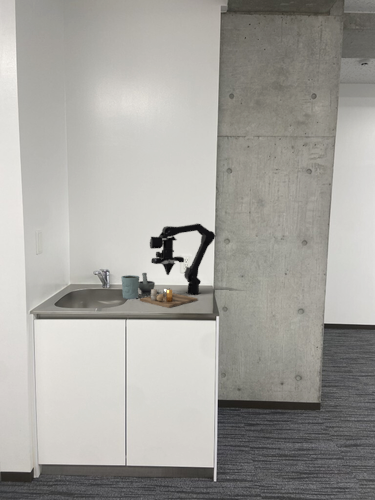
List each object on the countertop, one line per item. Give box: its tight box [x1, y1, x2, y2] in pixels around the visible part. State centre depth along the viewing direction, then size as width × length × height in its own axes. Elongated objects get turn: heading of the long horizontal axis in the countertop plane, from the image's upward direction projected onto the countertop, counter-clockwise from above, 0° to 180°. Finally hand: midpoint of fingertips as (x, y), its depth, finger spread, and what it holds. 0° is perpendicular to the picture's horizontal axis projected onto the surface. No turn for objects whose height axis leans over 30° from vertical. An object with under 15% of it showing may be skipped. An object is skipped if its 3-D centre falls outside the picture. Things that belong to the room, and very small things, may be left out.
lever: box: [162, 287, 173, 302], centre depth 232 cm, size 20×4×6 cm, turn 9°
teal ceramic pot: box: [121, 274, 140, 300], centre depth 237 cm, size 10×10×12 cm
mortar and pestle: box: [138, 272, 156, 296], centre depth 247 cm, size 11×9×12 cm
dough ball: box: [157, 294, 163, 301], centre depth 224 cm, size 4×4×4 cm
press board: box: [139, 288, 198, 309], centre depth 230 cm, size 23×22×7 cm
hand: (167, 274), depth 243 cm, fingers closed
